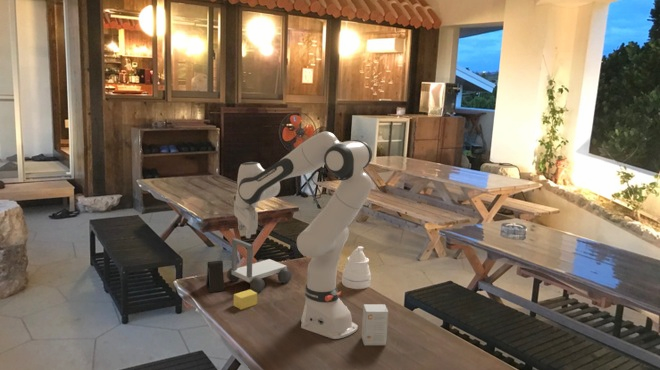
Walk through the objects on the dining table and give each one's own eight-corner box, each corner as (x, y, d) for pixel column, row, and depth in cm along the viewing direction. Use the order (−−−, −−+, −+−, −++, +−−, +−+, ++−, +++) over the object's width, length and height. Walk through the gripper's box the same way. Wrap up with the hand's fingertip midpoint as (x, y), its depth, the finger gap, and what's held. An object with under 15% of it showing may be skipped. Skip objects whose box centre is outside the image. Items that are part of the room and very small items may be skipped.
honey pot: (375, 287, 243) (378, 249, 240) (350, 290, 238) (352, 251, 234) (361, 276, 255) (364, 240, 251) (337, 280, 249) (339, 242, 246)
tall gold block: (257, 304, 220) (257, 293, 218) (241, 310, 214) (241, 298, 213) (249, 300, 223) (249, 289, 222) (233, 305, 217) (233, 294, 216)
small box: (382, 337, 197) (385, 303, 195) (386, 345, 191) (388, 311, 189) (360, 337, 197) (363, 303, 194) (363, 345, 190) (366, 311, 188)
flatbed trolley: (264, 270, 257) (265, 228, 252) (291, 281, 245) (292, 237, 240) (226, 281, 241) (227, 237, 236) (253, 294, 229) (254, 247, 224)
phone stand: (224, 291, 231) (224, 264, 228) (210, 292, 228) (210, 265, 226) (219, 283, 239) (219, 257, 236) (205, 284, 236) (205, 258, 234)
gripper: (263, 208, 209) (260, 242, 212) (246, 193, 227) (244, 224, 230) (247, 209, 206) (244, 243, 209) (232, 194, 224) (229, 225, 227)
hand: (244, 233), depth 220 cm, fingers open, 8 cm apart
